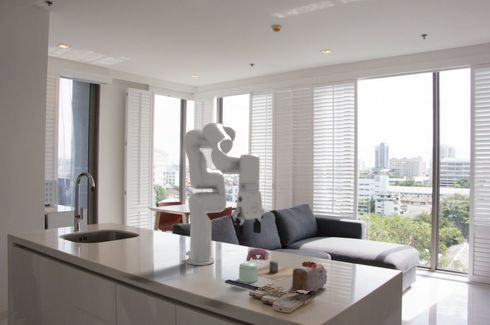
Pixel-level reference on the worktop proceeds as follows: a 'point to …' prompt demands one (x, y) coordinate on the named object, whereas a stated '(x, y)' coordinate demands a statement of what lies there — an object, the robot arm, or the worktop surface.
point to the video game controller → (257, 251)
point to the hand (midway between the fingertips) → (248, 234)
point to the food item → (309, 277)
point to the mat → (241, 285)
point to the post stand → (274, 271)
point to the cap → (248, 272)
